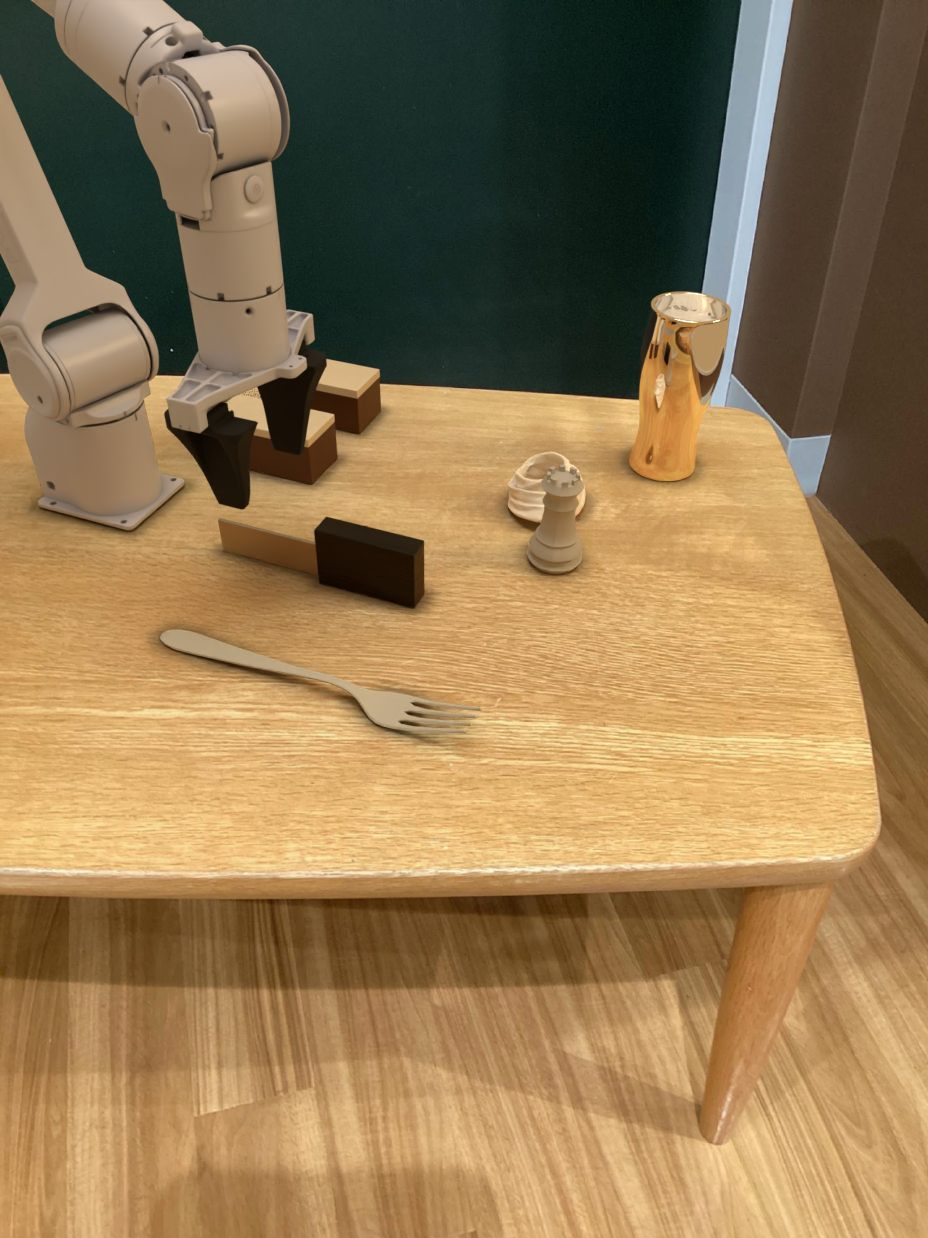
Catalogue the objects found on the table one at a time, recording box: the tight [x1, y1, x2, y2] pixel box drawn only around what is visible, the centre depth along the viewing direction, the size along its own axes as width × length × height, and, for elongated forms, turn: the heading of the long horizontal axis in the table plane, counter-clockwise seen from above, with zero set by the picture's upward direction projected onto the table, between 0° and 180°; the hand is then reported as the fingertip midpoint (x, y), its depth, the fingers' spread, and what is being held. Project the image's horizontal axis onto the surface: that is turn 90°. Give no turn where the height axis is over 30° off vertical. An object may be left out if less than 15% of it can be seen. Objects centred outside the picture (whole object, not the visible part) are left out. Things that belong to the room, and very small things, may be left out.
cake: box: [226, 394, 338, 485], centre depth 83 cm, size 10×5×4 cm, turn 69°
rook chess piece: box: [526, 465, 585, 575], centre depth 71 cm, size 4×4×8 cm
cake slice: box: [311, 358, 382, 434], centre depth 90 cm, size 10×5×4 cm, turn 69°
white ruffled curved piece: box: [507, 451, 587, 523], centre depth 78 cm, size 8×7×5 cm
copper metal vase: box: [628, 290, 732, 482], centre depth 81 cm, size 7×7×15 cm
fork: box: [159, 628, 484, 735], centre depth 62 cm, size 3×24×2 cm, turn 67°
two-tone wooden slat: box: [217, 516, 425, 609], centre depth 70 cm, size 17×2×5 cm, turn 69°
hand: (262, 476), depth 65 cm, fingers open, 7 cm apart
